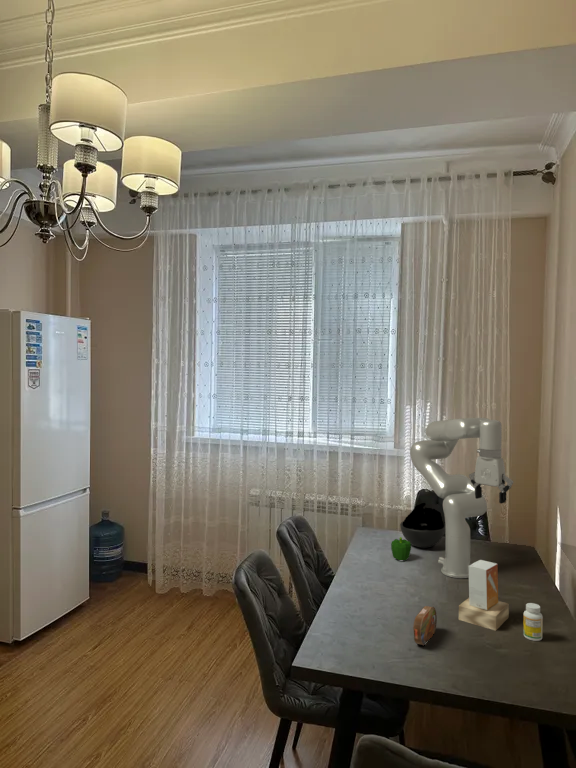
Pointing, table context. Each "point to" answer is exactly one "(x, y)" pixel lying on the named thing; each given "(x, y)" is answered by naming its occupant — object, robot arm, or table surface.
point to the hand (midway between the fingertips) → (490, 500)
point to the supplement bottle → (532, 622)
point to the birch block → (484, 614)
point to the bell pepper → (401, 549)
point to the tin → (424, 625)
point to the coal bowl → (423, 527)
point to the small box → (483, 584)
